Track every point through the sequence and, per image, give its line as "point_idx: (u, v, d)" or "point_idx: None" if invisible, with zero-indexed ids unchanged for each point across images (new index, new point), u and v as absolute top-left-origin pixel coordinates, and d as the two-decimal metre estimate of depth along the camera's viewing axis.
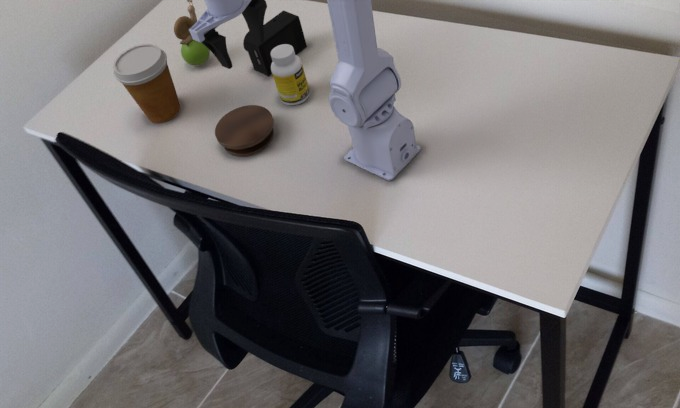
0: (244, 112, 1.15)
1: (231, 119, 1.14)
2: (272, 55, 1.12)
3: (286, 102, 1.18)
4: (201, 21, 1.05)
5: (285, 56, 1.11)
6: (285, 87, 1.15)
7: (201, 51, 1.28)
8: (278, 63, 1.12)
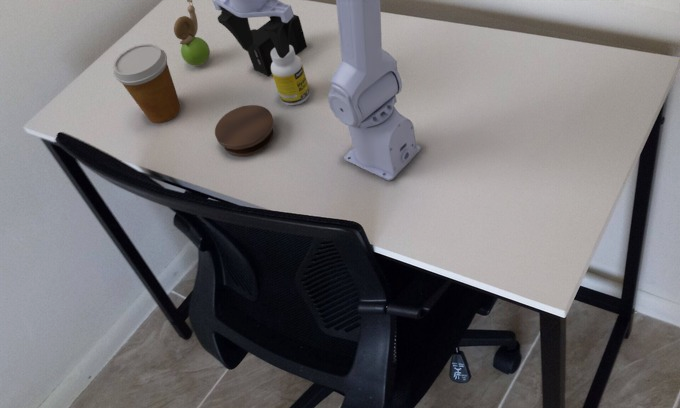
0: (244, 112, 1.15)
1: (231, 119, 1.14)
2: (272, 55, 1.12)
3: (286, 102, 1.18)
4: None
5: (285, 56, 1.11)
6: (285, 87, 1.15)
7: (201, 51, 1.28)
8: (278, 63, 1.12)
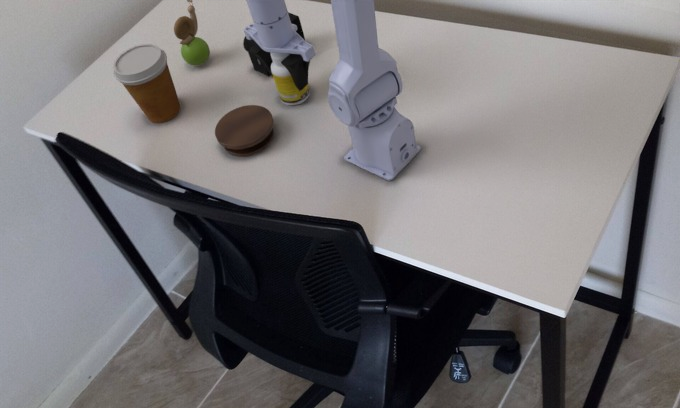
0: (244, 112, 1.15)
1: (231, 119, 1.14)
2: (272, 55, 1.12)
3: (286, 102, 1.18)
4: None
5: (285, 56, 1.11)
6: (285, 87, 1.15)
7: (201, 51, 1.28)
8: (278, 63, 1.12)
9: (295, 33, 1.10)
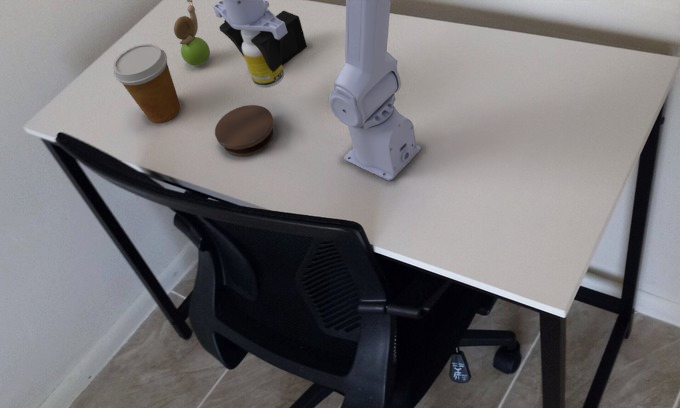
0: (244, 112, 1.15)
1: (231, 119, 1.14)
2: (242, 33, 1.05)
3: (259, 84, 1.11)
4: None
5: (256, 34, 1.04)
6: (257, 68, 1.08)
7: (201, 51, 1.28)
8: (249, 42, 1.05)
9: (266, 9, 1.03)
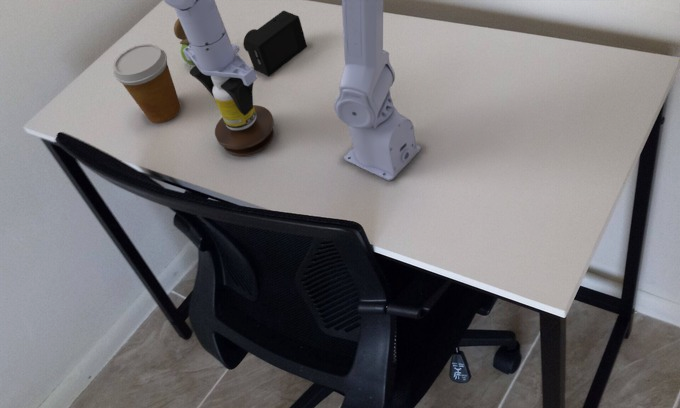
0: None
1: None
2: (212, 78, 1.04)
3: (230, 127, 1.10)
4: None
5: (226, 79, 1.03)
6: (228, 112, 1.07)
7: None
8: (219, 86, 1.04)
9: (236, 55, 1.02)
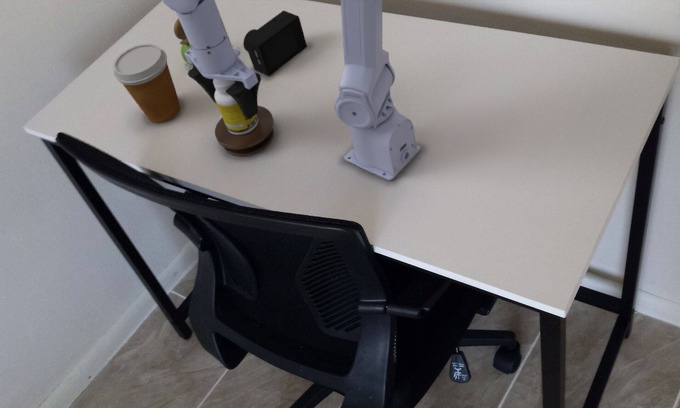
0: None
1: None
2: (214, 83, 1.05)
3: (232, 131, 1.10)
4: None
5: (228, 84, 1.04)
6: (230, 117, 1.08)
7: None
8: (221, 91, 1.05)
9: (237, 58, 1.03)
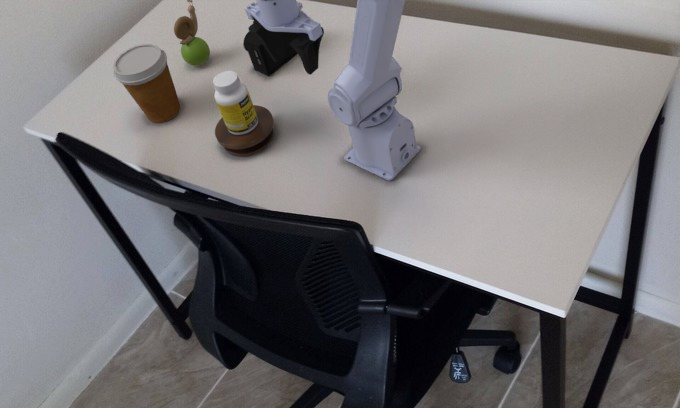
0: None
1: None
2: (214, 83, 1.05)
3: (232, 131, 1.10)
4: None
5: (228, 84, 1.04)
6: (230, 117, 1.08)
7: (201, 51, 1.28)
8: (221, 91, 1.05)
9: (300, 11, 1.02)
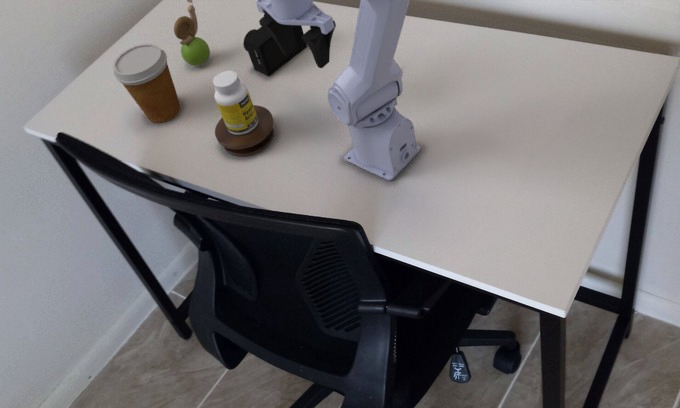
0: None
1: None
2: (214, 83, 1.05)
3: (232, 131, 1.10)
4: None
5: (228, 84, 1.04)
6: (230, 117, 1.08)
7: (201, 51, 1.28)
8: (221, 91, 1.05)
9: (312, 4, 1.02)
